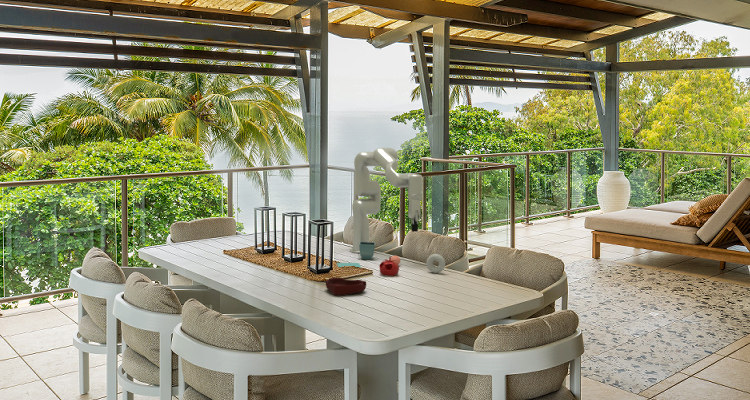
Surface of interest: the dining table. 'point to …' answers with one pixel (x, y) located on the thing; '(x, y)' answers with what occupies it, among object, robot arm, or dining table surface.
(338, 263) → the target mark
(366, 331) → the dining table surface
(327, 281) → the dark red shallow dish
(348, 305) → the dining table surface
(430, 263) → the donut
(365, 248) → the flower pot
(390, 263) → the pomegranate
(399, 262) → the ball
